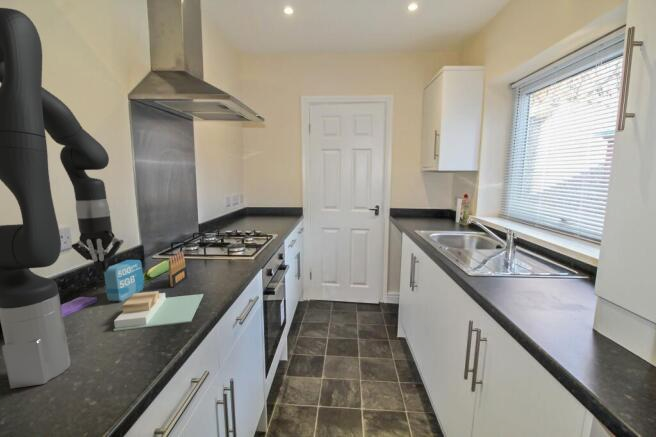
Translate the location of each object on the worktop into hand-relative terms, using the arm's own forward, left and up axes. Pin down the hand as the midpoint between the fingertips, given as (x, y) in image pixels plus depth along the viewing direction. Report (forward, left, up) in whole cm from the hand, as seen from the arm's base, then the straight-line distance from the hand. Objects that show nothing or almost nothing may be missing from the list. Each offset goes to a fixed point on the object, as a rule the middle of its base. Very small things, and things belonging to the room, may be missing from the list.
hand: (102, 272), depth 89 cm
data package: (+17, +2, -15) cm, 22 cm away
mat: (0, -15, -14) cm, 21 cm away
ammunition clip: (+26, -13, -15) cm, 33 cm away
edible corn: (+39, -2, -15) cm, 42 cm away
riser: (0, -9, -14) cm, 17 cm away
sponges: (+10, +15, -15) cm, 24 cm away
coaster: (0, -9, -12) cm, 15 cm away
